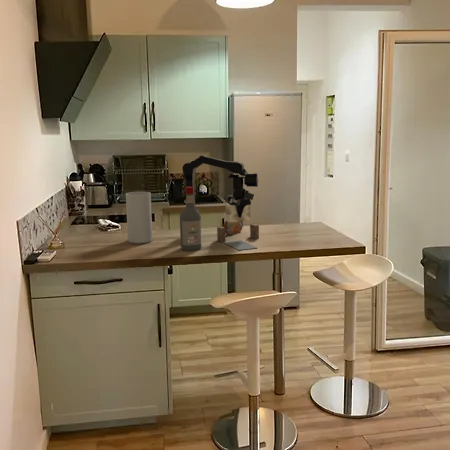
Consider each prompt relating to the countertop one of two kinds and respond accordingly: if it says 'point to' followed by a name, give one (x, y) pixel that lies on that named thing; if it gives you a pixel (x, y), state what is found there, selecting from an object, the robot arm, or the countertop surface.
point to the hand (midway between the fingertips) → (238, 216)
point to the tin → (233, 227)
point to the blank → (233, 215)
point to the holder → (253, 232)
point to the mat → (240, 245)
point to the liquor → (190, 225)
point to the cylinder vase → (139, 217)
